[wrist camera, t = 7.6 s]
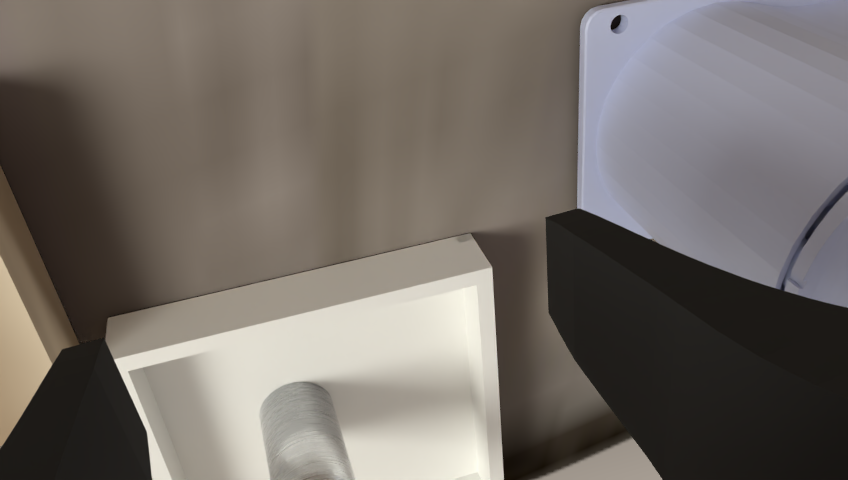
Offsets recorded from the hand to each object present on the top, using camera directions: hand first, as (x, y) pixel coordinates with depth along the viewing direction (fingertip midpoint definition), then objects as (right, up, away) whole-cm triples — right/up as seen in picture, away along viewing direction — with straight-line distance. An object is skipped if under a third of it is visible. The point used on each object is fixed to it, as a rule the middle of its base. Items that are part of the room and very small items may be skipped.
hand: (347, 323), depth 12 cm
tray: (-2, -4, +14) cm, 15 cm away
